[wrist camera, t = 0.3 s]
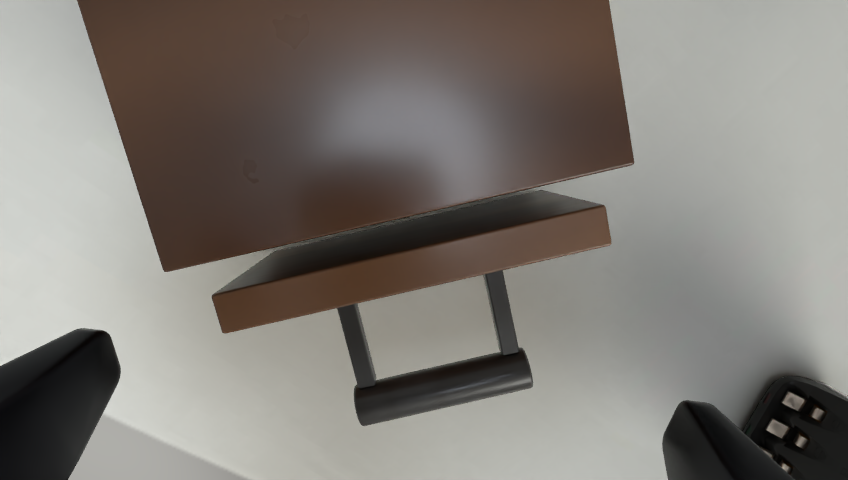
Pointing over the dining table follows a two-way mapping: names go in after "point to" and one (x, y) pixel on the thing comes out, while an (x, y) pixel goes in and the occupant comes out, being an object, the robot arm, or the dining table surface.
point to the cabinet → (349, 110)
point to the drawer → (415, 269)
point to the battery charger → (803, 428)
